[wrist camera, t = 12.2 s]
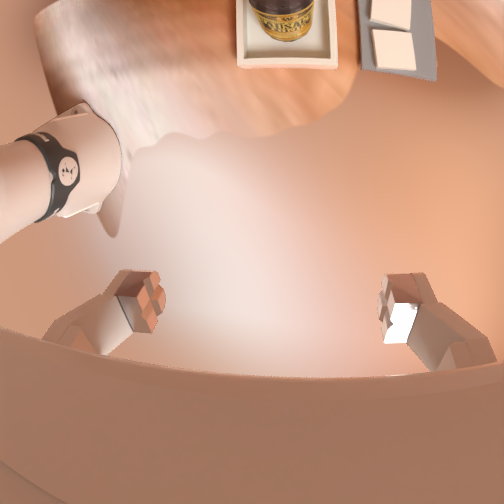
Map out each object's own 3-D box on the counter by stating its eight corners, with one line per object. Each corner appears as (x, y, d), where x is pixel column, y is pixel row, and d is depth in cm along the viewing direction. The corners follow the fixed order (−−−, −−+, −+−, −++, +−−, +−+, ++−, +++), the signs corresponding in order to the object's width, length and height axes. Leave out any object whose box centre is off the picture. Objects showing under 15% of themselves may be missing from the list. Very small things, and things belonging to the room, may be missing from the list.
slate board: (360, 69, 32) (362, 68, 31) (355, -10, 26) (357, -14, 25) (433, 81, 30) (436, 80, 29) (427, 3, 25) (430, 0, 24)
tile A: (375, 68, 30) (377, 66, 29) (370, 31, 28) (372, 29, 27) (413, 70, 29) (416, 69, 28) (408, 34, 27) (411, 32, 26)
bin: (243, 69, 34) (237, 65, 31) (241, -13, 29) (235, -22, 26) (335, 69, 32) (337, 65, 29) (331, -14, 27) (332, -25, 24)
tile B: (369, 20, 27) (370, 18, 26) (371, -11, 25) (373, -14, 24) (407, 31, 27) (409, 29, 26) (408, 0, 25) (411, -3, 23)
